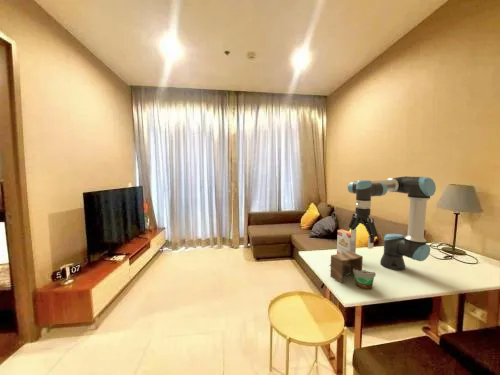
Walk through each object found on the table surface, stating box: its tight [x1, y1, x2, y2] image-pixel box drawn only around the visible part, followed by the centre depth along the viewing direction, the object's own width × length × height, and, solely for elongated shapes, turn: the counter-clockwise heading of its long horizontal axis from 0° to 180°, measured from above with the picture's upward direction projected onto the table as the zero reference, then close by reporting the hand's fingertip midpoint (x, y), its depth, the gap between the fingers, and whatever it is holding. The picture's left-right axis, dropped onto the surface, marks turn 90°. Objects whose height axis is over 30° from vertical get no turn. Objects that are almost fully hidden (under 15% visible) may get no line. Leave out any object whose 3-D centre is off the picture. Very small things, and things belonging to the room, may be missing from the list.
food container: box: [353, 269, 377, 291], centre depth 130 cm, size 12×6×10 cm, turn 65°
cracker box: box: [336, 229, 357, 254], centre depth 174 cm, size 14×6×21 cm, turn 20°
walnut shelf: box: [329, 252, 364, 284], centre depth 142 cm, size 17×9×14 cm, turn 111°
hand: (361, 244), depth 127 cm, fingers open, 13 cm apart
